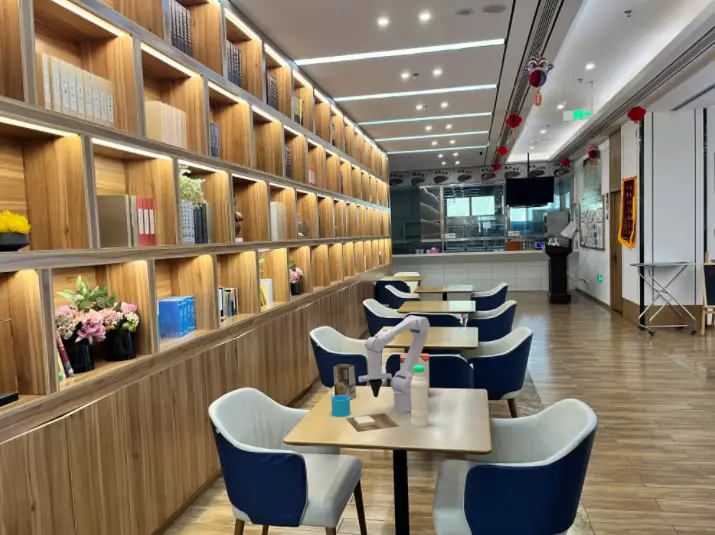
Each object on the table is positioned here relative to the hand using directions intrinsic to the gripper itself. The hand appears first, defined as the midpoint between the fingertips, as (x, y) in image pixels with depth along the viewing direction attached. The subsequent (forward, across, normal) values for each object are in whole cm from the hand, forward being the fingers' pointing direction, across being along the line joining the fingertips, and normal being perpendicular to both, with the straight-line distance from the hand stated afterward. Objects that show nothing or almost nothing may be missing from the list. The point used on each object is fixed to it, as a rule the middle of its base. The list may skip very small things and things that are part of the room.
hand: (375, 396), depth 226 cm
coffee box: (+10, +3, -36) cm, 38 cm away
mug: (+10, +12, -11) cm, 19 cm away
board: (+10, +4, +6) cm, 12 cm away
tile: (+8, +4, +6) cm, 11 cm away
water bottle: (+10, -14, +15) cm, 23 cm away
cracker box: (+10, -30, -26) cm, 41 cm away
